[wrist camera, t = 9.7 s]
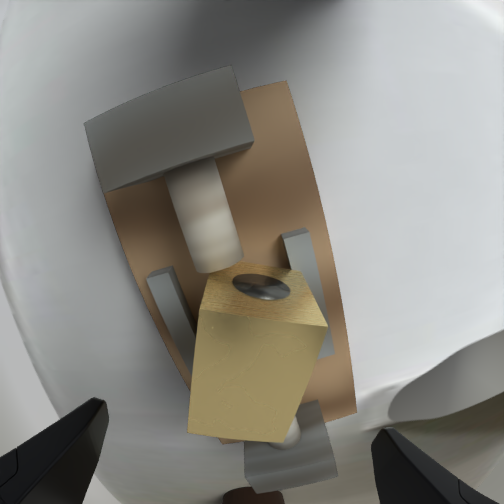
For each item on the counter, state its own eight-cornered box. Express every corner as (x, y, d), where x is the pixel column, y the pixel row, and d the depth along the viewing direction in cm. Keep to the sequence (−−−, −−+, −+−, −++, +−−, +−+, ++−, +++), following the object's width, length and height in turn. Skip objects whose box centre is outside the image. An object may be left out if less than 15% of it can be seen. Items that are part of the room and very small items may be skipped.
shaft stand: (102, 148, 14) (29, 148, 8) (282, 87, 14) (308, 41, 7) (223, 430, 20) (219, 499, 14) (351, 399, 20) (377, 465, 13)
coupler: (273, 372, 16) (282, 443, 11) (199, 363, 15) (187, 433, 10) (301, 270, 14) (328, 325, 9) (214, 255, 14) (199, 307, 9)
